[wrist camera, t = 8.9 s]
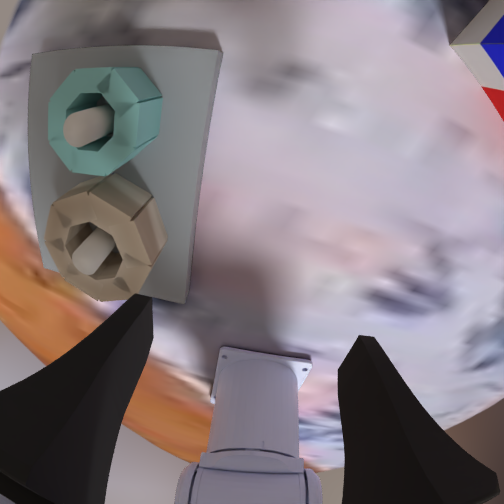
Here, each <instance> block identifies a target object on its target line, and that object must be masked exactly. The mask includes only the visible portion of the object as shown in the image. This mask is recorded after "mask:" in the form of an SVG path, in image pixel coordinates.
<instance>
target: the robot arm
mask: <svg viewBox="0 0 504 504" xmlns="http://www.w3.org/2000/svg"><path fill="white" fill-rule="evenodd" d="M152 341H153V311H152V297H149V296H145V295H141V294H136V293H135V294H134V295H132V296H131V297H130V298H129V299H128V300H127V301H126V302H125V303H124V304H123V305H122V306H121V307H120V308H118V309H117V310H116V311H115V312H114V313H113V314H112V315H111V316H110V317H109V318H108V319H107V320H105V321H104V322H103V323H102V324H101V325H100V326H99V327H97V328H96V329H95V330H94V331H93V332H92V333H91V334H89V335H88V336H87V337H86V338H84V339H83V340H82V341H81V342H79V343H78V344H77V345H76V346H74V347H73V348H72V349H71V350H69V351H68V352H67V353H65V354H64V355H62V356H61V357H60V358H58V359H57V360H55V361H54V362H52V363H51V364H49V365H48V366H46V367H45V368H43V369H41V370H40V371H38V372H36V373H35V374H33V375H31V376H29V377H28V378H26V379H24V380H22V381H20V382H18V383H16V384H14V385H12V386H10V387H8V388H6V389H4V390H1V391H0V504H104V503H105V496H106V489H107V482H108V477H109V472H110V467H111V462H112V458H113V453H114V449H115V445H116V441H117V437H118V433H119V430H120V426H121V422H122V420H123V417H124V414H125V411H126V409H127V406H128V404H129V402H130V399H131V397H132V394H133V392H134V390H135V387H136V385H137V383H138V380H139V378H140V376H141V373H142V371H143V368H144V366H145V364H146V361H147V358H148V354H149V351H150V348H151V344H152ZM225 355H226V356H225ZM311 368H312V361H311V360H307V359H299V358H292V357H285V356H278V355H272V354H265V353H259V352H253V351H248V350H242V349H236V348H231V347H222V348H220V352H219V357H218V362H217V368H216V373H215V378H214V384H213V389H212V394H211V400H210V402H211V403H213V404H215V405H214V411H213V417H212V423H211V429H210V435H209V441H208V447H207V453H204V452H202V453H201V457H200V463H198V462H192V463H191V464H190V465H189V466H187V467H186V468H184V470H183V471H182V473H181V475H180V477H179V480H178V484H177V489H176V494H175V502H174V504H322V488H321V482H320V479H319V477H318V475H316V474H315V473H314V471H313V470H312V469H304V459H303V458H299V417H298V391H299V389H300V387H301V386H302V384H303V382H304V380H305V379H306V377H307V375H308V373H309V371H310V370H311ZM338 400H339V408H340V416H341V424H342V432H343V441H344V453H345V466H344V469H345V470H344V487H343V498H342V504H483V503H485V502H487V501H489V500H490V499H492V498H494V497H496V496H497V495H499V493H500V489H499V483H498V479H497V475H496V473H495V472H494V471H492V470H491V469H489V468H488V467H486V466H485V465H483V464H482V463H480V462H479V461H477V460H476V459H475V458H473V457H472V456H471V455H470V454H468V453H467V452H466V451H465V450H463V449H462V448H461V447H460V446H459V445H458V444H457V443H456V442H455V441H454V440H453V439H452V438H451V437H450V436H448V435H447V434H446V433H445V431H444V430H443V429H442V428H441V427H440V426H439V425H438V424H437V423H436V422H435V421H434V419H433V418H432V417H431V416H430V415H429V414H428V412H427V411H426V410H425V409H424V407H423V406H422V405H421V404H420V402H419V401H418V400H417V398H416V397H415V396H414V394H413V393H412V391H411V390H410V389H409V387H408V386H407V384H406V383H405V382H404V380H403V379H402V377H401V376H400V374H399V373H398V371H397V370H396V368H395V367H394V365H393V364H392V362H391V361H390V359H389V358H388V356H387V355H386V353H385V352H384V350H383V349H382V347H381V346H380V344H379V343H378V342H377V340H376V339H375V338H374V337H371V336H363V335H359V336H358V338H357V340H356V341H355V343H354V345H353V346H352V348H351V349H350V351H349V353H348V354H347V356H346V358H345V359H344V361H343V362H342V364H341V365H340V367H339V369H338Z"/></svg>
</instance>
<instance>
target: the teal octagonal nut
mask: <svg viewBox="0 0 504 504" xmlns="http://www.w3.org/2000/svg"><path fill="white" fill-rule="evenodd" d="M102 96H103V97H104V98H105V99H106V100H107V102H108V103H109V104H110V106H111V107H112V108H113V109H114V111H115V116H114V131H113V137H108V136H103V137H101V138H99V139H97V140H95V141H92V142H90V143H88V144H86V145H84V146H82V147H73V146H71V145H70V144H69V143H68V142H67V141H66V139H65V137H64V134H63V126H64V122H65V120H66V119H67V117H68V116H69V115H71V114H72V113H75V112H79V111H82V110H86V109H89V108H93V107H96V106H97V101H98V100H99V99H100V98H101V97H102ZM161 96H162V94H161V93H160V92H159V90H158V89H157V88H156V87H155V85H154V84H153V83H152V82H151V80H150V79H149V78H148V77H147V75H146V74H145V73H144V72H143V70H142V69H141V68H139V67H100V68H81V69H75V70H73V71H72V72H71V73H70V75H69V76H68V77H67V78H66V79H65V80H64V82H63V83H62V84H61V85H60V87H59V88H58V89H57V90H56V92H55V93H54V94H53V96H52V97H51V98H50V99H49V100H50V101H51V102H49V103H48V140H49V141H50V142H49V144H50V145H51V147H52V148H53V149H54V151H55V152H56V153H57V155H58V156H59V157H60V159H61V160H62V161H63V163H64V164H65V165H66V167H67V168H68V169H69V170H70V171H71V170H72V172H73V173H81V174H89V175H97V176H106V175H107V176H108V175H109V174H111V173H112V172H113V171H115V170H116V169H118V168H119V167H121V166H122V165H124V164H125V163H126V162H128V161H129V160H131V159H132V158H134V157H135V156H136V155H137V154H138V153H139V152H140V151H141V150H143V149H144V148H145V147H146V146H147V145H148V144H150V143H151V142H152V141H153V140H154V139H155V138H157V137H158V136H157V135H159V129H160V119H161V110H162V102H163V98H160V97H161Z"/></svg>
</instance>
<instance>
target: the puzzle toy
mask: <svg viewBox="0 0 504 504" xmlns="http://www.w3.org/2000/svg"><path fill="white" fill-rule="evenodd" d="M450 46H451V48H452V49H453V50H454V51H455V52H456V54H457V55H458V56H459V57H460V59H461V60H462V61H463V62H464V64H465V65H466V66H467V67H468V69H469V70H470V71H471V73H472V74H473V76H474V77H475V78H476V80H477V81H478V82H479V84H480V85H481V87H482V88H483V90H484V91H485V93H486V94H487V96H488V97H489V99H490V100H491V102H492V103H493V105H494V106H495V108H496V109H497V111H498V113H499V114H500V116H501V118H502V119H503V121H504V0H489V2H488V3H487V4H486V5H485V6H484V7H483V8H482V9H481V11H480V12H479V13H478V14H477V15H476V16H475V17H474V18H473V20H472V21H471V22H470V23H469V24H468V25H467V26H466V27H465V29H464V30H463V31H462V32H461V33H460V34H459V35H458V36H457V38H456V39H455V40H454V41H453V42H452V43H451V44H450Z"/></svg>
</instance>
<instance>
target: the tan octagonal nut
mask: <svg viewBox="0 0 504 504" xmlns="http://www.w3.org/2000/svg"><path fill="white" fill-rule="evenodd" d="M151 196H152V194H150V193H148V192H147V191H145V190H143V189H142V188H140V187H138V186H137V185H135V184H133V183H132V182H130V181H128V180H127V179H125V178H123V177H122V176H120V175H118V174H117V173H115V174H113V172H112V173H111V174H109V175H108V176H107V175H106V176H100V177H97V178H94V179H91V180H88V181H85V182H82V183H79V184H78V185H77V186H75V187H74V188H72V189H71V190H69V191H68V192H67V193H65V194H64V195H63V196H61V197H60V198H58V199H57V200H56V201H54V202H53V204H51V207H50V211H49V216H48V220H47V225H46V230H45V235H44V240H46V241H45V242H44V243H45V245H46V247H47V249H48V251H49V253H50V255H51V257H52V259H53V261H54V263H55V265H56V267H57V269H58V270H59V272H60V274H61V276H62V277H65V279H64V280H65V281H67V282H68V283H70V284H72V285H73V286H75V287H76V288H78V289H79V290H81V291H82V292H84V293H86V294H87V295H89V296H90V297H92V298H94V299H95V300H97V301H98V299H99V300H100V302H103V301H115V300H127V299H129V298H130V297H131V296H132V295H134V294H135V293H136V294H138V293H139V291H140V289H141V288H142V286H143V284H144V282H145V280H146V278H147V277H148V275H149V273H150V271H151V269H152V268H153V266H154V264H155V262H156V260H157V258H158V257H159V255H160V253H161V251H162V249H163V248H164V246H165V244H166V242H167V240H168V239H167V238H168V235H167V232H166V230H165V227H164V224H163V221H162V218H161V215H160V213H159V210H158V207H157V204H156V201H155V198H151ZM89 222H91V223H93V224H94V225H96V226H97V227H99V228H101V229H102V230H104V231H105V232H107V233H109V234H110V235H112V236H113V239H114V241H115V243H116V245H117V248H118V250H119V252H120V253H114V252H113V251H111V252H110V253H109V255H108V256H107V257H106V258H105V260H104V261H103V262H102V264H101V265H100V266H99V268H98V269H97V270H96V272H95V273H94V274H92V275H86V274H83V273H81V272H80V271H79V270H78V269H77V268H76V267H75V266H74V264H73V261H72V254H73V252H74V251H75V250H76V249H77V248H78V247H79V246H80V245H81V244H82V243H83V242H84V241H85V239H86V238H87V237H88V236H89V235H90V234H91V233H92V232H93V231H92V228H91V226H90V224H89Z"/></svg>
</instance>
